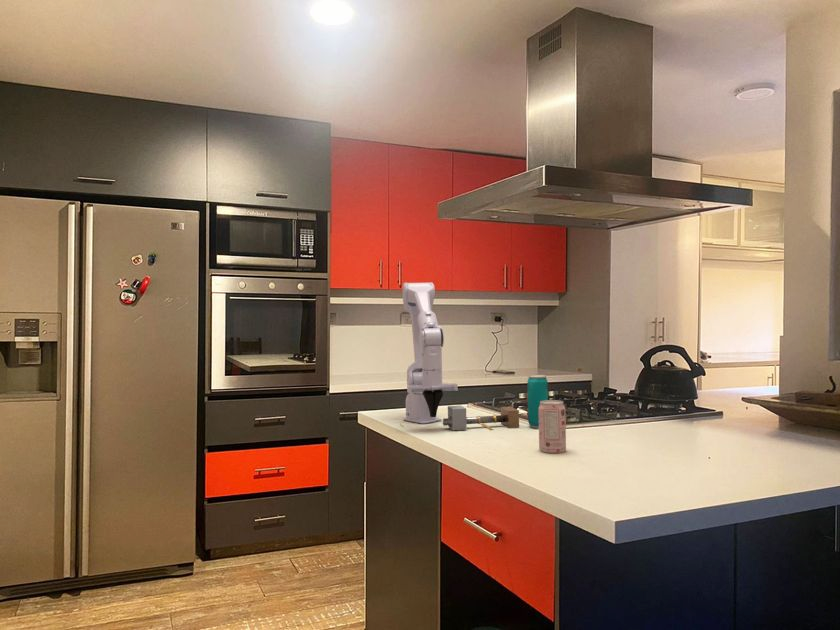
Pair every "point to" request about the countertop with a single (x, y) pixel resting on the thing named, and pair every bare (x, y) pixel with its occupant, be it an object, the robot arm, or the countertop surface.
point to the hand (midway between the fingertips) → (433, 416)
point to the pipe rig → (493, 419)
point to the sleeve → (457, 417)
